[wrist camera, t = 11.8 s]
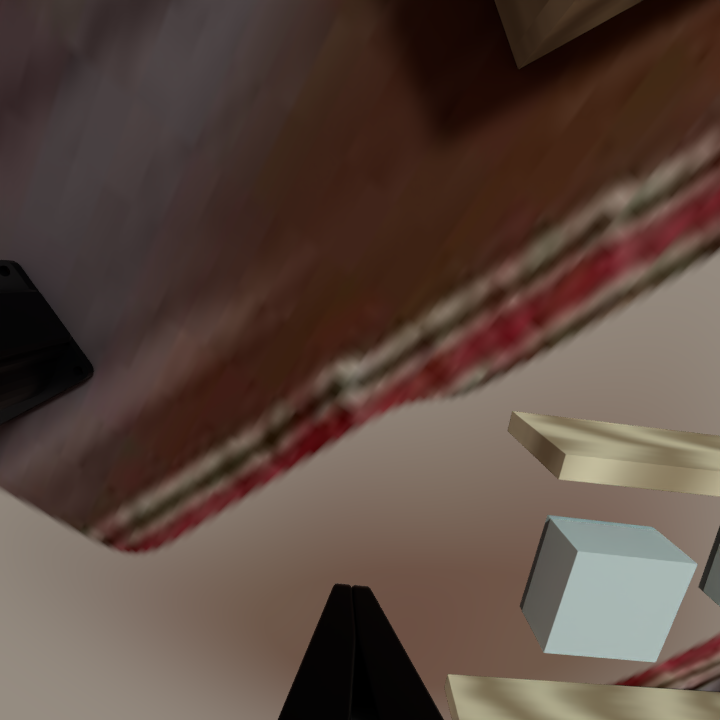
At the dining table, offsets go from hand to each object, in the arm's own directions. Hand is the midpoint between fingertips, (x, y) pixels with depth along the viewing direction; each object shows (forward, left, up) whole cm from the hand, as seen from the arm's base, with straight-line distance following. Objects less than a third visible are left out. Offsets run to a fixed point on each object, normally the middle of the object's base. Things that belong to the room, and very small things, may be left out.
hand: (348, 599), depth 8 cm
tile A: (+9, -17, -12) cm, 22 cm away
